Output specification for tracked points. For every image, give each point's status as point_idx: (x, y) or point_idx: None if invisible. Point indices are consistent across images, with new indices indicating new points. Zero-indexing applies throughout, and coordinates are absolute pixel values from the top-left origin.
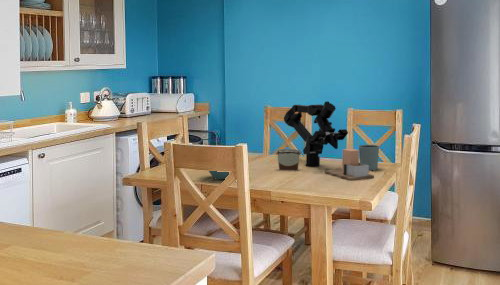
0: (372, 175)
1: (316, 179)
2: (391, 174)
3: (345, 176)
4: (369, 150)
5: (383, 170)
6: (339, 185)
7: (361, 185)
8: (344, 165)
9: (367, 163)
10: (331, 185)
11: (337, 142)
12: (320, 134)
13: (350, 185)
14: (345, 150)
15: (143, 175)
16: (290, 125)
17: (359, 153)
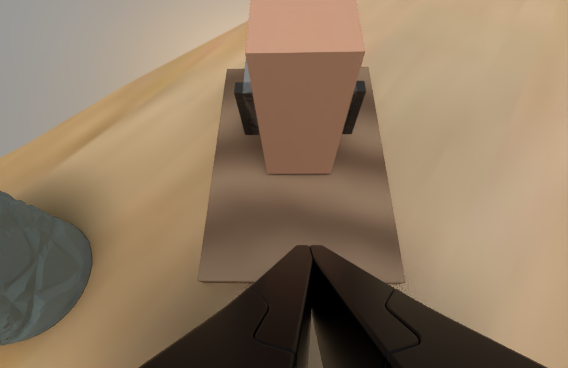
0: (233, 71)
1: (516, 155)
2: (94, 104)
3: (367, 99)
4: None
5: (15, 198)
6: (451, 33)
7: (369, 10)
8: (363, 90)
9: (51, 226)
10: (484, 42)
11: (270, 274)
12: None
13: (409, 21)
14: (357, 22)
15: None
16: None
17: None
